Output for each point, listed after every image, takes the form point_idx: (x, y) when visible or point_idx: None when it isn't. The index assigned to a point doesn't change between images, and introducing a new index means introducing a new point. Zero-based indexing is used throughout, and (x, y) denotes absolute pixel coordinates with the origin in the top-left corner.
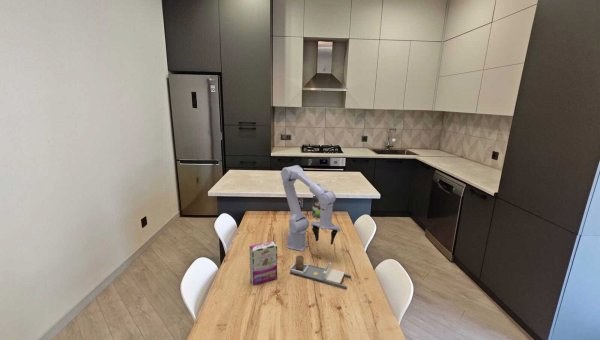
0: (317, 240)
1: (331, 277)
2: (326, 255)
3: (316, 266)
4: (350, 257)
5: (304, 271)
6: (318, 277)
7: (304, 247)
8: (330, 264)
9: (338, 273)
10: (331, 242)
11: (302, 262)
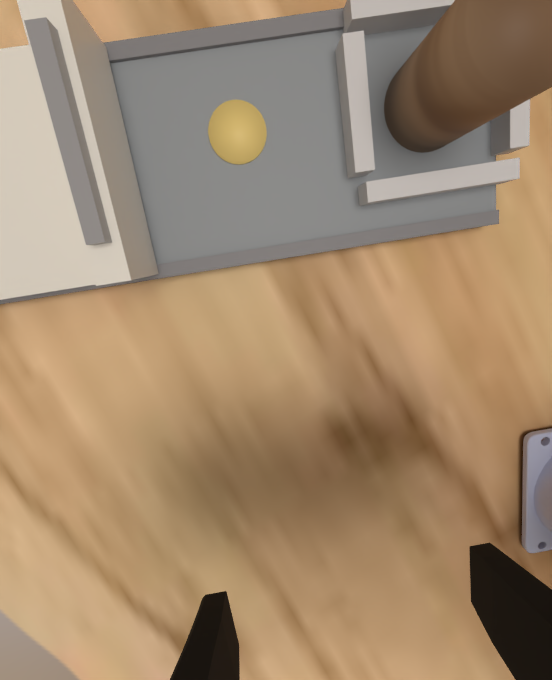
0: (473, 567)
1: (25, 116)
2: (307, 499)
3: (291, 256)
4: (119, 585)
5: (348, 37)
6: (177, 81)
7: (532, 490)
8: (87, 247)
9: (9, 242)
10: (204, 630)
11: (438, 29)
